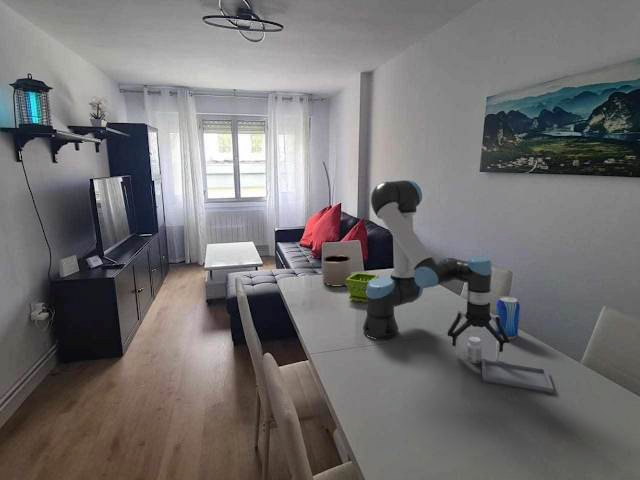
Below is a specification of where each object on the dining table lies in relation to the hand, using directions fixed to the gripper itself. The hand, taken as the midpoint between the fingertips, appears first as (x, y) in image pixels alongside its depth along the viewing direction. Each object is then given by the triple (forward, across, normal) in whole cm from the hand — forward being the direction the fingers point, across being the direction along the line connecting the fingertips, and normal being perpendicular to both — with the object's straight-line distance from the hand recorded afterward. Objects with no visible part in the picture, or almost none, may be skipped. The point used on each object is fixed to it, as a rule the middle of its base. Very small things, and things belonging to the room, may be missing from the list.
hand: (476, 356), depth 130 cm
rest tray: (+2, +12, -7) cm, 14 cm away
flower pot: (0, -56, +48) cm, 74 cm away
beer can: (+2, +12, +25) cm, 28 cm away
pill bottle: (+2, -1, 0) cm, 2 cm away
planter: (-1, -79, +71) cm, 106 cm away
